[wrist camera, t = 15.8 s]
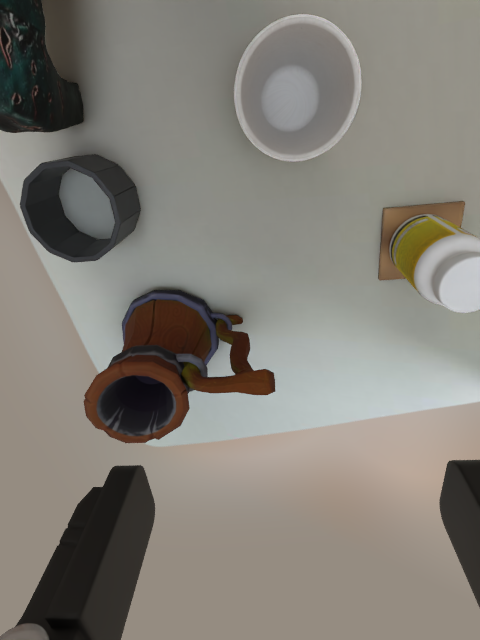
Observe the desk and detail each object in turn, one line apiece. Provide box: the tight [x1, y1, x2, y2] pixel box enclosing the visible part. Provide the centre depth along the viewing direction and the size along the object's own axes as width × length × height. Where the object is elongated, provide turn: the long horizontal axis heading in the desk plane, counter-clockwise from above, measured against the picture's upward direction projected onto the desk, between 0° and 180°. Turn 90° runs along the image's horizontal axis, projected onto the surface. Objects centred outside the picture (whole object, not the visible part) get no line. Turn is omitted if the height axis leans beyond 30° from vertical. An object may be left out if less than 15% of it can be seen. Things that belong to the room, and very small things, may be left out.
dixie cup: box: [234, 14, 362, 162], centre depth 29 cm, size 8×8×10 cm
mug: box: [84, 290, 275, 443], centre depth 38 cm, size 18×12×15 cm, turn 104°
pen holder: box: [20, 154, 141, 262], centre depth 36 cm, size 9×9×6 cm
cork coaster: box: [378, 201, 465, 280], centre depth 39 cm, size 8×8×1 cm
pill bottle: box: [389, 214, 480, 313], centre depth 33 cm, size 6×6×11 cm
